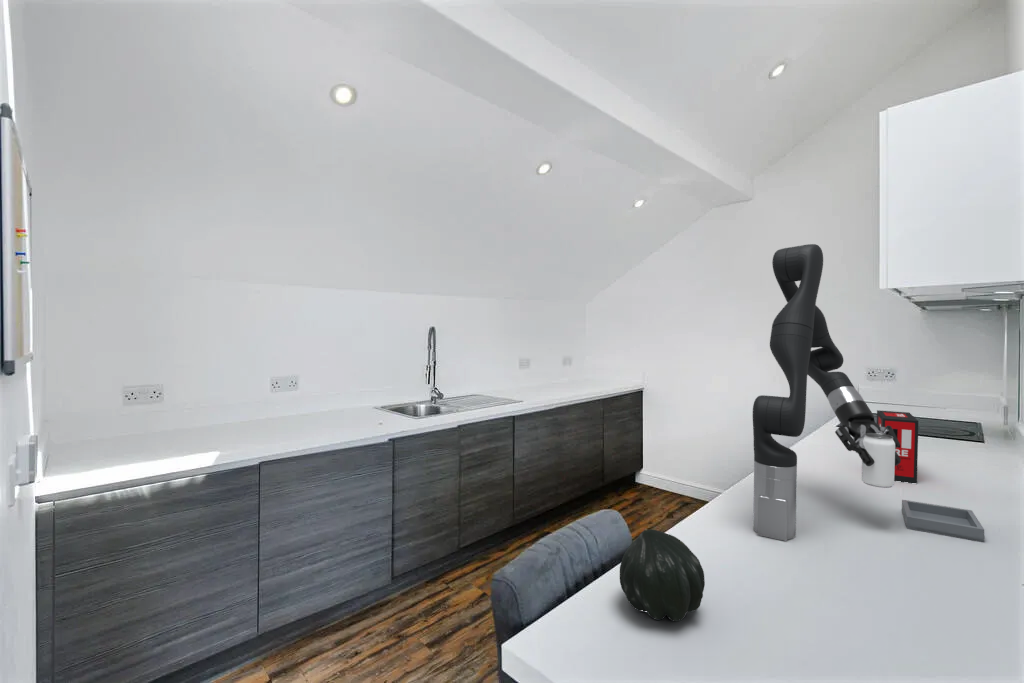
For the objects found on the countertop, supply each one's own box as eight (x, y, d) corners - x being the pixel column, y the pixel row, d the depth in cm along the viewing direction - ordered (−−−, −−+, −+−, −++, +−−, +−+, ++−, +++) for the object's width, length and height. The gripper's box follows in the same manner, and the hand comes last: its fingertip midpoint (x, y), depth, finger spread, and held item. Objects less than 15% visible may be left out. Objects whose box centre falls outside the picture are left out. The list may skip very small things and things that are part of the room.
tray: (984, 542, 114) (984, 529, 114) (906, 528, 122) (907, 516, 122) (971, 521, 126) (971, 510, 126) (901, 510, 134) (901, 499, 134)
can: (880, 479, 125) (881, 432, 125) (901, 488, 119) (902, 438, 118) (855, 479, 125) (856, 432, 125) (874, 488, 118) (876, 438, 118)
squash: (732, 580, 88) (677, 505, 94) (700, 622, 77) (640, 534, 83) (675, 608, 96) (628, 537, 102) (639, 650, 85) (588, 567, 91)
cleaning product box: (916, 484, 155) (918, 421, 154) (881, 479, 160) (883, 418, 159) (907, 470, 169) (909, 412, 169) (875, 466, 174) (876, 410, 173)
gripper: (830, 399, 128) (864, 457, 117) (883, 398, 129) (922, 456, 118) (816, 415, 134) (847, 472, 122) (867, 415, 134) (903, 471, 123)
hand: (884, 464), depth 120 cm, fingers closed on can, 6 cm apart
